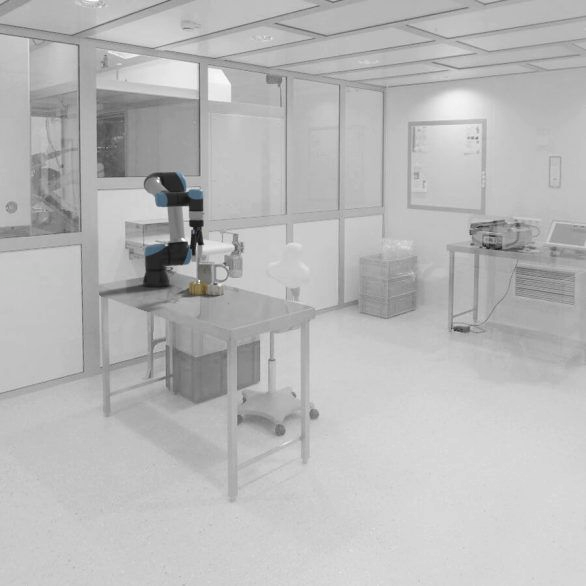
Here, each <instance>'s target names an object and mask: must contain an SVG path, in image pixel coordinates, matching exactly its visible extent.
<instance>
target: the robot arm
mask: <svg viewBox="0 0 586 586" xmlns="http://www.w3.org/2000/svg"><path fill="white" fill-rule="evenodd" d="M143 188H144V190H145V191H146V192H147V193H148V194H149V195H152V196H153V197H154V202H155V206H156V207H157V208H167V218H168V232H169V241H168V242H167V245H166V244H165V243H154V244H149V245H147V246H146V247H145V248H144V266H145V270H144V271H145V272H144V276H143V279H142V286H143V285H144V287H148V288H161V287H167V286H169V285H170V278H169V276H168V273H167V267H175V266H182V267H183V266H187V265H189V264H190V263H191V262H192V263H193V262H194V263H196V262H198V259H199V258H200V259H201V258H203V256H204V255H203V254H204V253H203V252H204V251H203V246H204V245H205V243H204V237H203V229H202V228H203V227H204V226H205V225H204V223H205V221H204V215H205V212H204V197H205V195H204V191H203V189H200V188H190V189H188V191H187V180H186V177H185V176H184V174H183V173H182V172H179V171H177V172H175V171H172V172H170V171H165V172H163V171H162V172H158V171H157V172H152V173H150V174H149V175H147V176H146V177H145V179H144V180H143ZM183 207H188V219H189V220H188V226H189V227H190V228H192V229H191V230H190V242H189V241H188V240H187V239H186V234H185V224H184V211H183Z"/></svg>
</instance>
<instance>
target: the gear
mask: <svg viewBox="0 0 586 586" xmlns="http://www.w3.org/2000/svg"><path fill="white" fill-rule="evenodd" d="M206 294H207V295H209V296H210V295H211V296H220V295H225V285H224V284H223V283H218V282H215V283H213V284H209V285H207V293H206Z"/></svg>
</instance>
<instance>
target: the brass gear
mask: <svg viewBox="0 0 586 586" xmlns="http://www.w3.org/2000/svg"><path fill="white" fill-rule="evenodd" d="M196 281H197V280H195V281H190V282H189V284H188V291H189V292H188V293H189V294H190V295H192V296H200V295H201V296H202V295H206V294H207V286H206V282H202V281H200V283H196Z"/></svg>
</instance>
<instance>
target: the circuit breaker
mask: <svg viewBox="0 0 586 586" xmlns="http://www.w3.org/2000/svg"><path fill="white" fill-rule="evenodd" d="M197 265H198V266H197V274H198V275H197V279H198V280H197V281H202V282H206V286H207V285H209V284H213V283H216V282H217V267H215V262H214V261H200V262H199V263H197Z"/></svg>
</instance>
